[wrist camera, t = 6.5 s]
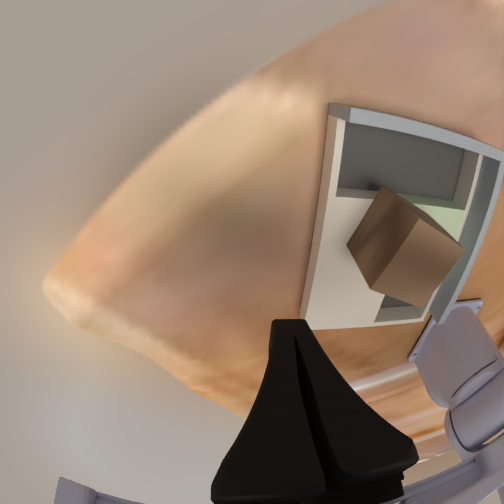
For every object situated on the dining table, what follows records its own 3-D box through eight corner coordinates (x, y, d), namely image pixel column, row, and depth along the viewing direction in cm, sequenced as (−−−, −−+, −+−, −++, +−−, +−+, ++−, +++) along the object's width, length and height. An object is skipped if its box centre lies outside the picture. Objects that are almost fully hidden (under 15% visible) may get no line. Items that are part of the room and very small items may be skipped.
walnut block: (393, 265, 20) (420, 307, 16) (346, 244, 19) (369, 289, 15) (428, 214, 18) (465, 249, 14) (382, 185, 17) (419, 218, 13)
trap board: (420, 307, 26) (436, 334, 22) (299, 313, 25) (306, 348, 22) (475, 138, 16) (508, 153, 13) (329, 102, 16) (351, 107, 12)
